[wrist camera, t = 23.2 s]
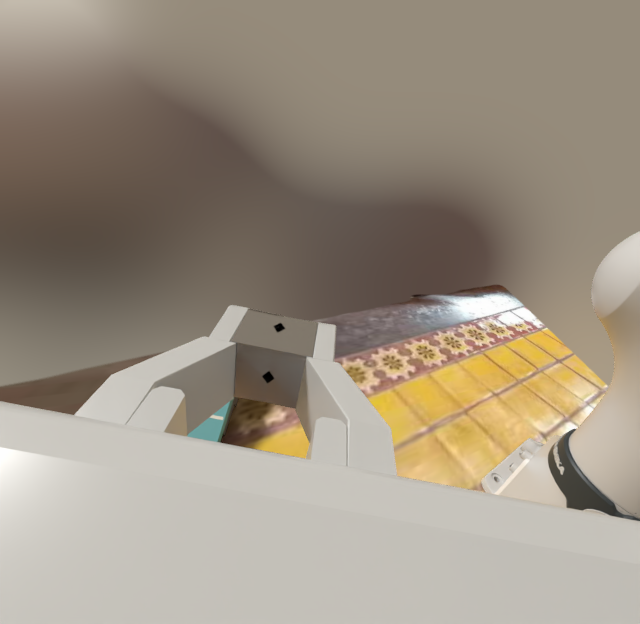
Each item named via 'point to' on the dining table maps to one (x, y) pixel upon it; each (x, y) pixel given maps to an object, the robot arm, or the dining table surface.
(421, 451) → the dining table surface
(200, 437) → the teal domino
